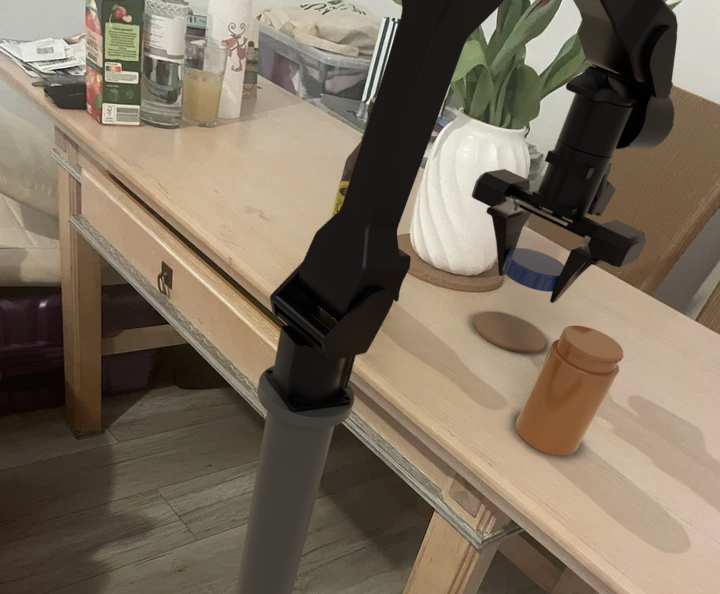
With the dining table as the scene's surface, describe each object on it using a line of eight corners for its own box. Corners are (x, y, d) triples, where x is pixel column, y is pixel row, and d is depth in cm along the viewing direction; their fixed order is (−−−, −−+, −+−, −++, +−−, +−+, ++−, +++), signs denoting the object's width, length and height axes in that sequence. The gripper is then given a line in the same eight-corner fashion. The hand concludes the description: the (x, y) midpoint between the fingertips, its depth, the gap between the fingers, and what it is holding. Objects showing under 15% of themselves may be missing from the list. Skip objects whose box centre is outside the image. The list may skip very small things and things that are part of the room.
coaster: (504, 356, 79) (505, 353, 79) (459, 316, 84) (460, 313, 84) (559, 350, 84) (560, 347, 83) (513, 312, 89) (514, 309, 89)
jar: (544, 460, 65) (593, 364, 58) (502, 420, 69) (544, 325, 62) (590, 450, 68) (642, 357, 61) (548, 411, 72) (592, 320, 65)
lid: (533, 262, 83) (540, 247, 82) (573, 291, 79) (580, 275, 78) (490, 263, 80) (495, 247, 79) (528, 293, 76) (535, 277, 74)
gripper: (694, 175, 72) (624, 309, 82) (542, 113, 80) (495, 244, 89) (658, 185, 65) (586, 332, 75) (494, 116, 72) (448, 258, 82)
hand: (527, 288), depth 80 cm, fingers closed on lid, 7 cm apart
